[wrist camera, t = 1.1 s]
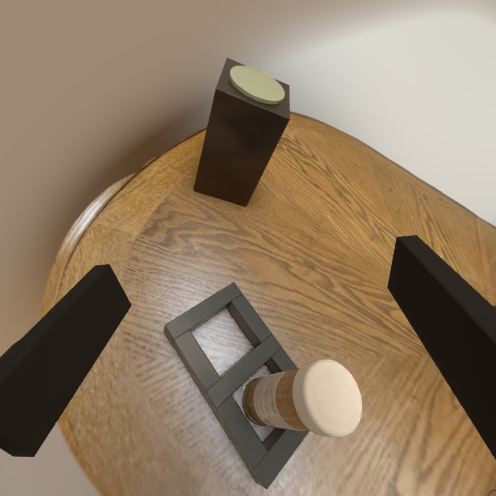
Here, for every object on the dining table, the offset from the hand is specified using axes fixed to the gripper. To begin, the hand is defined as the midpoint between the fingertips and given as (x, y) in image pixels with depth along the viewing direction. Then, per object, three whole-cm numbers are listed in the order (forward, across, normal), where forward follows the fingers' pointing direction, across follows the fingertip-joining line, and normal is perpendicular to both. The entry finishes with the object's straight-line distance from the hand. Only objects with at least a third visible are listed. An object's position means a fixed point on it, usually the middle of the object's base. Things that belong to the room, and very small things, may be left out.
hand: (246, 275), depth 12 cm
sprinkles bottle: (+5, -2, -21) cm, 22 cm away
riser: (+33, -7, -4) cm, 34 cm away
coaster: (+27, +1, +8) cm, 28 cm away
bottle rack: (+7, -4, -19) cm, 21 cm away
